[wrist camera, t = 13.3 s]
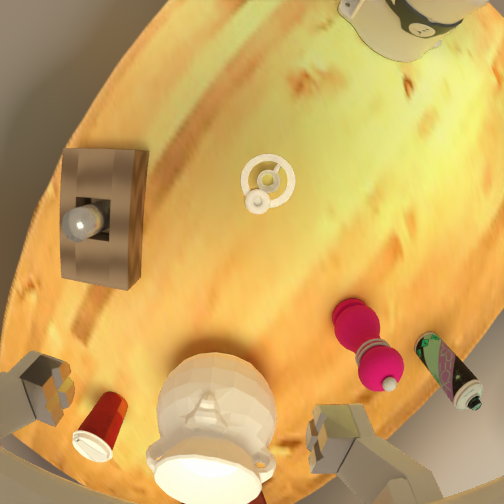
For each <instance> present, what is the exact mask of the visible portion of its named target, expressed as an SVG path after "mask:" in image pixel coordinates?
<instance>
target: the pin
mask: <svg viewBox="0 0 504 504" xmlns="http://www.w3.org/2000/svg"><path fill="white" fill-rule="evenodd" d="M110 206H111V200H103V201H99V202H95V203H91V204H88V205H84V206H81V207H77V208H73V209H70V210H68V211H67V212H66V213H65V215H64V217H63V220H62V228H63V231H64V234H65V235H66V237H67V238H68V239H69V240H71V241H73V242H81V241H83V240H85V239H87V238H89V237H91V236H93V235H95V234H97V233H99V232H102V231H104V230H106V229H108V228H110Z"/></svg>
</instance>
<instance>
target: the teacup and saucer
mask: <svg viewBox="0 0 504 504" xmlns="http://www.w3.org/2000/svg"><path fill="white" fill-rule="evenodd" d="M263 161H272V162H276V163H278V164H277V165H276V166H275V168H274V169H273V170H264V171H262V172H261V173H260V174H259V175H258V178H257V185H258V187H259V188H260V189H254V190H252V191H251V190H250V188H249V185H248V176H249V173H250V171H251V169H252V168H253V167H254V166H255V165H256V164H258V163H260V162H263ZM280 165H281V166H282V167H283V168H284V170H285V171H286V174H287V177H288V184H287V188H286V190H285V192H284V193H283V194H282V195H281V196H280V197H278V198H276V199H274V200H270V197H269V195H268V194H267V193H271V192H274V191H276V190H277V189H278V187H279V185H280V177H279V175H278V174H277V172H278V171H279V169H280V167H281V166H280ZM266 174H269V175H271V176H272V177H273V183H272V184H271V185H269V186H266V185H264V184H263V183H262V177H263V176H264V175H266ZM241 188H242V191H243V193H244V195H245V196H246V198H245V205H246V208H247V209H248V211H250V212H251V213H253V214H257V215H259V214H263V213H265V212H266V211H267V210H268V209H269V208H273V207H277V206H279V205H281V204H283V203H285V202H286V201H287V200H288V199H289V198H290V196H291V195H292V193H293V191H294V188H295V174H294V171H293V169H292V167H291V165H290V164H289V163H288V162H287V161H286V160H285V159H284V158H282V157H280V156H278V155H275V154H261V155H258V156H256V157H254V158H252V159H251V160H250V161H249V162H248V163H247V164H246V165H245V167H244V168H243V171H242V174H241ZM256 205H257V206H256Z"/></svg>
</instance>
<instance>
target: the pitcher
mask: <svg viewBox="0 0 504 504" xmlns="http://www.w3.org/2000/svg"><path fill="white" fill-rule="evenodd" d="M157 419H158V427H159V433H160V436H161V438H160V439H159V440H158V441H156V442H155V443H153V444H152V445H150V446H149V448H148V450H147V451H146V458H147V464H148V466H149V467H150V468H151V470H152V471H153V475H154V479H155V481H156V483H157V484H158V485H159V487H160V488H161V489H162V490H163V491H164V492H165V493H167V494H168V495H169V496H171V497H173V498H175V499H176V500H178V501H180V502H182V503H185V504H248V503H249V502H251V501H252V500H254V499H255V498H256V497H258V495H259V493H260V491H261V489H262V483H263V482H265V481H266V480H268V479H269V478H271V477H272V475H273V473H274V470H275V468H276V461H275V458H274V455H273V454H272V453H271V452H270V451H269V450H268V446H269V444H270V442H271V440H272V438H273V434H274V431H275V426H276V420H277V412H276V405H275V399H274V396H273V394H272V391H271V389H270V386H269V384H268V383H267V381H266V380H265V378H264V377H263V375H262V374H261V373H260V372H259V371H258V370H257V369H256V368H255V367H254V366H253V365H252V364H251V363H250V362H247V361H245V360H243V359H241V358H239V357H236V356H234V355H230V354H224V353H218V352H212V353H202V354H197V355H194V356H192V357H190V358H187V359H185V360H184V361H183V362H182V363H180V364H179V365H178V366H177V367H176V368H175V369H174V370H173V371H171V372H170V373H169V375H168V377H167V379H166V381H165V382H164V384H163V387H162V389H161V391H160V394H159V397H158V403H157ZM162 455H163V456H162ZM161 456H162V457H161ZM159 457H161V458H160V459H159V460H156V459H157V458H159ZM258 462H261V463H263V464H264V465H266V466H267V467H265V468H257V466H256V465H255V464H256V463H258Z"/></svg>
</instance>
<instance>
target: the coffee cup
mask: <svg viewBox="0 0 504 504" xmlns="http://www.w3.org/2000/svg"><path fill="white" fill-rule="evenodd" d="M127 408H128V405H127V402H126V401H125V399H124V398H123V397H122V396H120V395H119V394H117V393H114V392H106V393H105V394H104V395H103V396H102V397H101V398H100V400H99V401H98V402H97V404H96V405H95V407H94V408H93V409H92V411H91V412H90V414H89V415H88V416H87V418H86V419H85V420H84V422H83V423H82V424H81V426H80V427H79V429H78V430H77V431H75V432H74V433H73V445H74V447H75V449H76V450H77V451H78V452H79V453H80V454H81V455H83V456H84V457H86V458H88V459H90V460H92V461H95V462H106V461H108V460H109V459H111V458H112V455H113V453H112V450H113V447H114V444H115V442H116V439H117V436H118V433H119V431H120V428H121V425H122V423H123V420H124V417H125V414H126V412H127Z"/></svg>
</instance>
